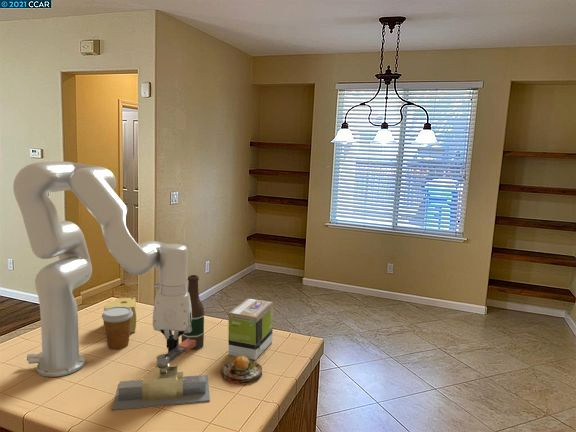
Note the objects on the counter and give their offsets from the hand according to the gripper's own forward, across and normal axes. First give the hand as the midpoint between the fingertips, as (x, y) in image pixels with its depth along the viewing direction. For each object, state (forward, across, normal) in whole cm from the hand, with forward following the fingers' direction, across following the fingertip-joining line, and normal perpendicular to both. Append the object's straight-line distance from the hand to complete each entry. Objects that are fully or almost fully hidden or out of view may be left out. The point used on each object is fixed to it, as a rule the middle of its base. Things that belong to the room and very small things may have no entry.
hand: (172, 350), depth 123 cm
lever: (0, +2, -4) cm, 4 cm away
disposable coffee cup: (+9, -24, +17) cm, 31 cm away
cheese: (+9, -29, +30) cm, 43 cm away
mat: (+8, 0, -8) cm, 11 cm away
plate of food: (+8, +20, +5) cm, 22 cm away
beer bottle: (+8, 0, +21) cm, 23 cm away
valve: (+8, +1, -9) cm, 12 cm away
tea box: (+8, +20, +22) cm, 30 cm away
